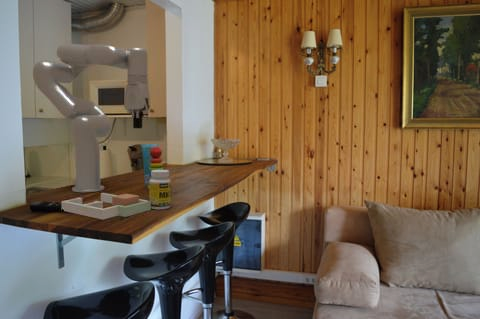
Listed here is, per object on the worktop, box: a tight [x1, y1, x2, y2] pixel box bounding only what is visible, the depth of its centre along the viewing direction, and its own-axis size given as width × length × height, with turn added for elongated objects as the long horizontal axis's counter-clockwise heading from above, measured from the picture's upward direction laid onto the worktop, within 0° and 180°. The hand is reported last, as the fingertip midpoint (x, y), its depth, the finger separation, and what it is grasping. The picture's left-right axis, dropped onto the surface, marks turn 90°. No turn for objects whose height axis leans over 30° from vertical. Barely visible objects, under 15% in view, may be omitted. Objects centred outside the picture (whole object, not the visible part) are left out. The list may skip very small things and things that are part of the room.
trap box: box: [61, 192, 152, 221], centre depth 121 cm, size 24×17×3 cm
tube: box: [140, 143, 159, 187], centre depth 168 cm, size 7×5×19 cm, turn 109°
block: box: [111, 193, 140, 207], centre depth 120 cm, size 6×6×5 cm
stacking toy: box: [147, 146, 164, 190], centre depth 158 cm, size 8×8×19 cm
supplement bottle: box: [148, 169, 172, 210], centre depth 125 cm, size 7×7×13 cm
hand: (137, 128), depth 144 cm, fingers closed
